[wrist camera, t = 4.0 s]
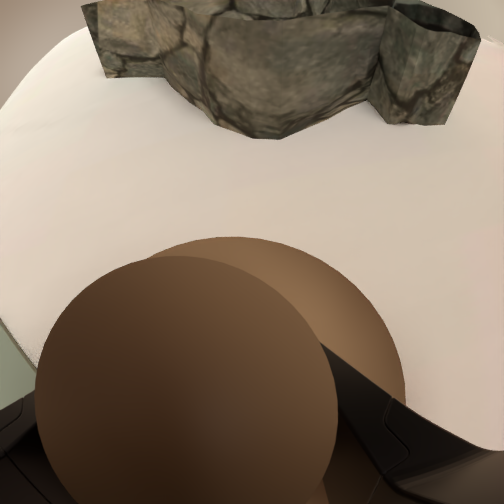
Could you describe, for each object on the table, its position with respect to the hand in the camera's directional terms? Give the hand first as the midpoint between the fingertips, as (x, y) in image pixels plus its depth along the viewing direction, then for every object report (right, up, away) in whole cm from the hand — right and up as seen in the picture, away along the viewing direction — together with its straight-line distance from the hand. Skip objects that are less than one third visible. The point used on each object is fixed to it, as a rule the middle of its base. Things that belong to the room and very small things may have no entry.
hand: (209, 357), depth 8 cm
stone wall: (+3, +19, +19) cm, 27 cm away
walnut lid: (0, -3, +3) cm, 4 cm away
